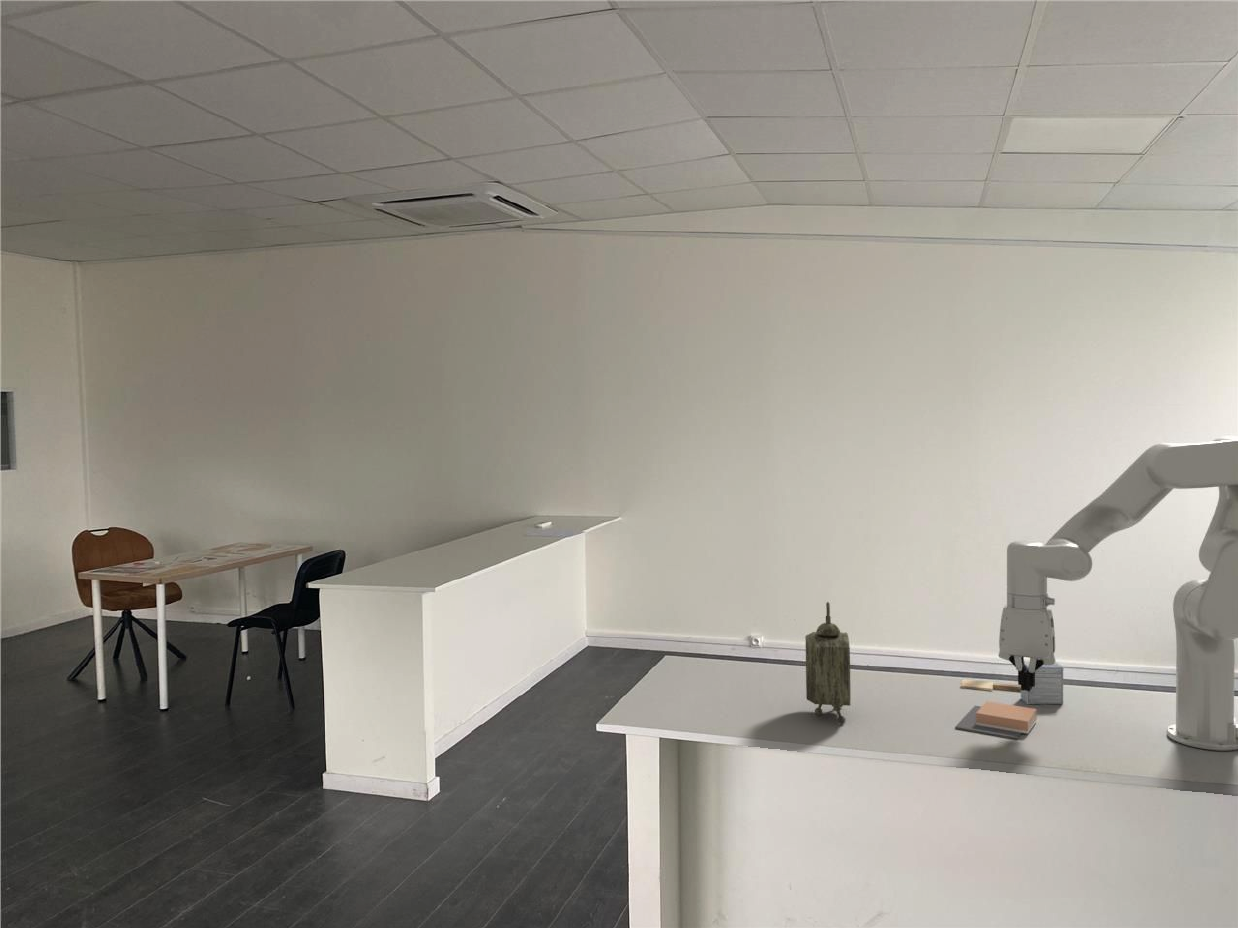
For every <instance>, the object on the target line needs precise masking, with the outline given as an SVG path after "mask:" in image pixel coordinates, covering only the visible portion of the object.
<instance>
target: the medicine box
mask: <svg viewBox="0 0 1238 928" xmlns="http://www.w3.org/2000/svg"><path fill="white" fill-rule="evenodd" d="M1029 662H1030V661H1024V663H1025V666H1026V668H1027V669H1028V667H1029ZM1020 698H1021V699H1022V700H1023V702H1025V703H1026V704H1027V705H1029V704H1030V705H1063V704H1064V666H1062V665H1061V664H1060V663H1058V662H1057V661H1056V662H1055V663H1054V664H1053V665H1042V666H1041V667H1040V668H1038V669H1037V670H1036V671H1035V687H1032V689H1031V690H1030V692H1029V691H1026V690H1024V691H1022V690H1021V691H1020Z"/></svg>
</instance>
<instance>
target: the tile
mask: <svg viewBox="0 0 1238 928" xmlns="http://www.w3.org/2000/svg"><path fill="white" fill-rule="evenodd" d="M1037 711H1038V709H1036V708H1034V707H1033V708H1032V707H1025V706H1020V705H1019V706H1018V705H1011V704H1006V703H1000V702H993V701H985V702H984V703H983V705H982V706H981V708H980V709H979V710H978V711H977V712H976V725H981V726H987V727H992V728H998V729H1004V730H1010V731H1015V732H1021V733H1022V734H1027V735H1028V734H1029V733H1030V731H1031V730H1032V729H1033V727H1034V726H1035V724H1036V722H1037V719H1038V717H1037V716H1038V715H1037V714H1038V713H1037Z"/></svg>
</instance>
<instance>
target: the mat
mask: <svg viewBox="0 0 1238 928" xmlns="http://www.w3.org/2000/svg"><path fill="white" fill-rule="evenodd" d="M981 707H982V706H979V705H974V706H973V707H972V708H971V709H970V710H969V712H967V713H966V714H965V716H964V717H962V719H960V721H959V722H958V723H957V724H956V725H955V727H954V729H956V730H960V731H966V732H967V731H968V732H973V733H978V734H983V735H989V736H995V737H998V738H1000V737H1001V738H1006V739H1011V740H1019V737H1020V736H1021V735H1022V734H1023V733H1021V732H1015V731H1010V730H1004V729H998V728H992V727H987V726H981V725H976V712H977V711H978V710H979V709H980V708H981Z"/></svg>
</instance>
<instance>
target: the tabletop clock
mask: <svg viewBox="0 0 1238 928" xmlns="http://www.w3.org/2000/svg"><path fill="white" fill-rule="evenodd" d="M825 603H826V604H825V605H826V606H825V608H826V614H825V615H826V616H825V622H823V623H821V624H820V625H819V626H817V629H816V631H812V632H810V633H808V634H806V635H805V637H804V638H805V691H806V692H805V693H806V701H808V702H811V703H812V704H814V705H818V707H816V708H815V709H814V712H815V715H817V716H821V715H822V714H823V710H822V706H824V705H825V706H826V705H827V706H828V705H829V706H832V707H833V709H834V710H835V712H836V713H837V716H838V717H837V722H838V723H839V724H840V725H843V724H845V723H846V717H844V716H843V715H842V713H841V711H840V709H841V708H842V707H843V706H851V653H850V652H851V650H850V649H851V648H850V640H849V634H848V632H841V630H840V628H839V627H838V625H837V624H835V623H832V622H831V617H832V616H830V614H831V610H830V609H831V605H830V602H828V601H827V602H825Z"/></svg>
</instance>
